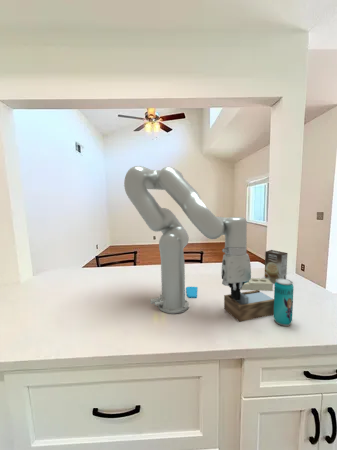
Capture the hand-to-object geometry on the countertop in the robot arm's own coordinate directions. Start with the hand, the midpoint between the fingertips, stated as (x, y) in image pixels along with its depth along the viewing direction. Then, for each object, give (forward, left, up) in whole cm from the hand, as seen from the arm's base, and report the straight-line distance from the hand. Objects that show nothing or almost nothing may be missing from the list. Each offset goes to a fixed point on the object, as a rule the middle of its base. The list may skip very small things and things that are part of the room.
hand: (235, 298), depth 81 cm
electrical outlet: (+23, +20, -7) cm, 31 cm away
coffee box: (+40, +23, -7) cm, 46 cm away
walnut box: (+6, 0, -6) cm, 9 cm away
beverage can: (+12, -10, -6) cm, 17 cm away
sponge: (-8, +24, -7) cm, 26 cm away
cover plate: (+8, 0, -2) cm, 9 cm away
